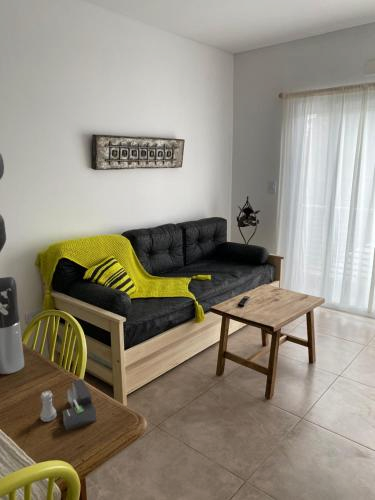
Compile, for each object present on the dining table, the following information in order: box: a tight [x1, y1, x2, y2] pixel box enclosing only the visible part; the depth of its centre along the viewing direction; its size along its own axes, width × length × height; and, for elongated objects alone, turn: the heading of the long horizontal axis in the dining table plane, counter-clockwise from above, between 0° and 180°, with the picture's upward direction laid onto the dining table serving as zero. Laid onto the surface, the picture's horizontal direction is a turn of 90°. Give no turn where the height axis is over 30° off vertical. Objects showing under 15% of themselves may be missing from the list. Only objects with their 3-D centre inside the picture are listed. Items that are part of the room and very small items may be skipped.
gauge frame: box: [62, 378, 97, 431], centre depth 114 cm, size 14×8×6 cm, turn 30°
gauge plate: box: [67, 388, 80, 410], centre depth 113 cm, size 11×1×4 cm, turn 30°
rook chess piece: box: [39, 390, 58, 423], centre depth 111 cm, size 4×4×8 cm
